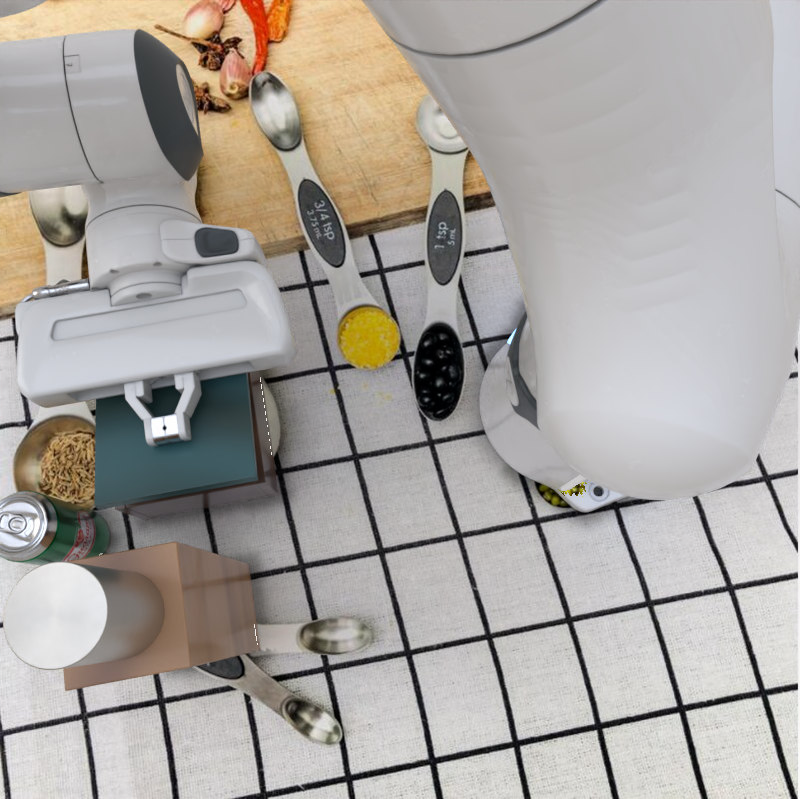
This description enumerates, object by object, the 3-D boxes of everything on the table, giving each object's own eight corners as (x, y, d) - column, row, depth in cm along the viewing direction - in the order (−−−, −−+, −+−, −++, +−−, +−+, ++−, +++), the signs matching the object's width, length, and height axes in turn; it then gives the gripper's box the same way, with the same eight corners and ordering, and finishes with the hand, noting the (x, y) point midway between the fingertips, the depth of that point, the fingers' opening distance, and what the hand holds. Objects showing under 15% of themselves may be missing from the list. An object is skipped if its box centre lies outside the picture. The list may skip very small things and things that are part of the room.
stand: (248, 563, 69) (176, 541, 48) (260, 650, 67) (190, 667, 46) (165, 579, 69) (54, 563, 47) (174, 666, 67) (64, 691, 46)
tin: (159, 563, 47) (102, 552, 39) (168, 650, 46) (112, 659, 37) (75, 579, 47) (-1, 571, 38) (82, 666, 46) (5, 679, 37)
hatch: (258, 480, 60) (255, 476, 59) (98, 509, 60) (94, 505, 59) (243, 330, 67) (241, 324, 66) (99, 355, 66) (96, 350, 66)
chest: (279, 494, 70) (265, 482, 64) (142, 519, 70) (115, 510, 63) (258, 354, 73) (243, 329, 67) (128, 378, 73) (100, 354, 66)
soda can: (102, 575, 69) (39, 568, 57) (43, 563, 69) (-31, 553, 57) (119, 515, 70) (61, 496, 58) (62, 503, 70) (-7, 481, 59)
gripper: (-7, 275, 60) (5, 460, 57) (272, 227, 61) (301, 407, 57) (32, 306, 66) (44, 475, 63) (285, 262, 67) (311, 427, 64)
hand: (169, 442), depth 60 cm, fingers closed, pressing on hatch
